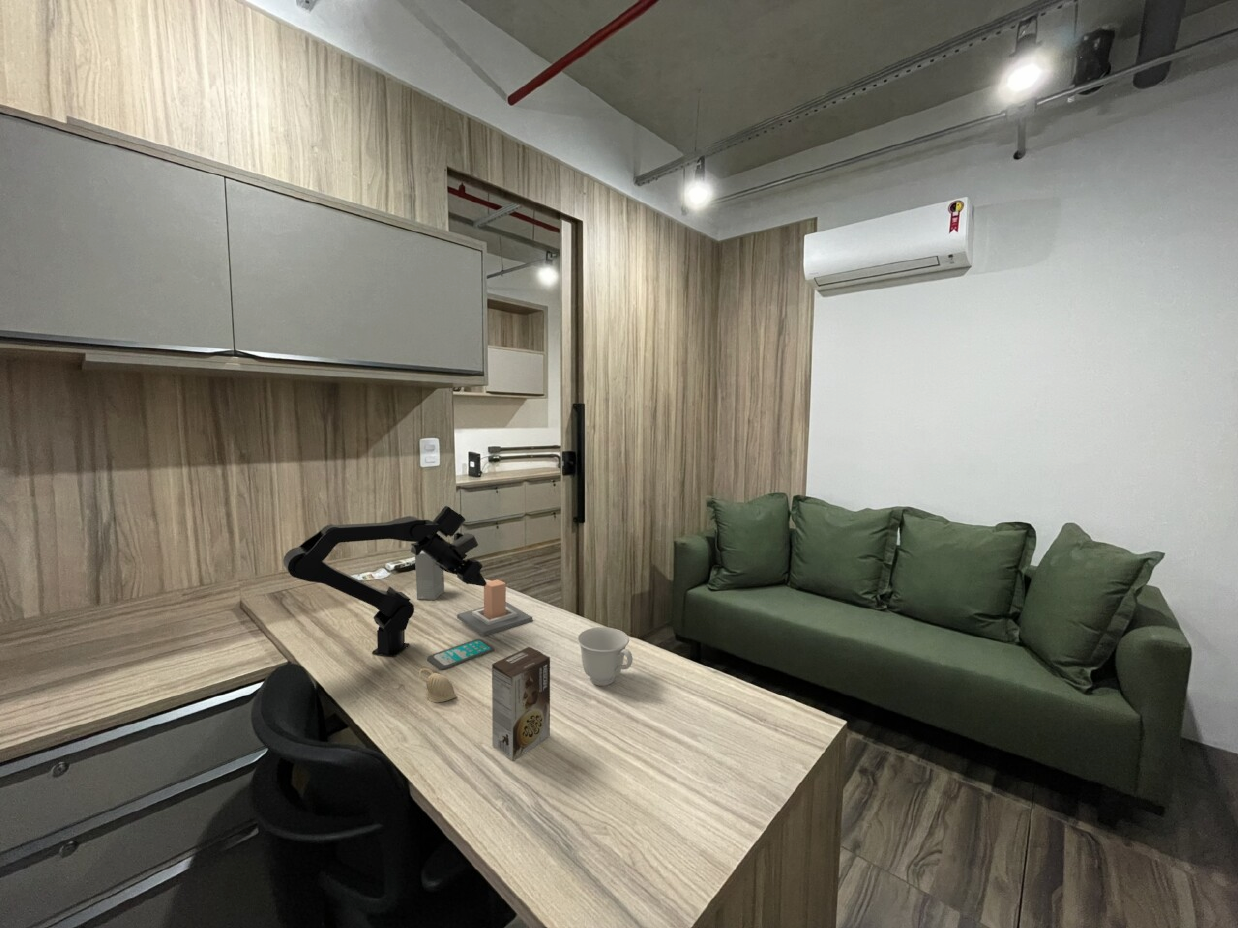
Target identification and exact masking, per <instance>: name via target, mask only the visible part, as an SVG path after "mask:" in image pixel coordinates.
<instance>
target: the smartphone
mask: <svg viewBox="0 0 1238 928" xmlns="http://www.w3.org/2000/svg"><path fill="white" fill-rule="evenodd" d="M494 650H495V647H494V646H492V645H491V644H489V643H488V642H486V641H485V640H483V639H482V638H476V639H472V640H470V641H467V642H464V643H462V644H459V645H456V646H452V647H450V648H449V647H448V648H447V649H444V650H441V651H439V652H435V653H433V654H430V655H429V656H427V657H426V660H427V662H428V663H429V664H431V665H432V666H433V667H435V668H436V669H437V670H439V671H445V670H448V669H451V668H454V667H456V666H459V665H461V664H464V663H467V662H470V661H471V660H474V659H477V658H480V657H484V656H486V655H488V654H490V653H492V652H494Z"/></svg>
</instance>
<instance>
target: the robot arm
mask: <svg viewBox="0 0 1238 928" xmlns="http://www.w3.org/2000/svg"><path fill="white" fill-rule="evenodd" d="M466 521H467V519H466V518H465V517H464V516H463V514H461V513H458V512H457V511H455V509H454V510H453V509H452V508H451V507H449V506H447V505H445V506H444V507H442V509H441V511H440V512H439V513H438V515H437V516H436V517H435V518H434V519H433V520H430V519H419V518H418V517H415V516H411V515H408V516H403V517H399V518H395V519H392V520H390V521H385V522H384V521H383V522H371V523H370V522H369V523H365V522H364V523H354V524H352V523H351V524H350V523H349V524H333V523H332V524H330V523H329V524H326V525H324V526H323V528H321V529H320V530H319V531H318V532H317V533H314V535H312V536H311V537H309V538H308V539H306V540H304V542H302V543H301V544H300V545H299V546H297V547H294V548H291V549H289V550H288V551H287V552H286V553H285V555H284V557H283V561H282V562H283V567H285V569H286V571H287V572H288V573H289V575H290V576H291V577H293V578H295V579H298V580H303V581H306V582H310V583H319V584H323V585H325V586H327V587H330V588H332V589H335V590H337V591H338V592H341V593H344V594H345V595H348V596H350V597H352V598H355V599H357V600H358V601H361V602H363V603H366V604H368V605H370V606H372V607H374V608H376V609H377V610H378V611H377V612H376V613H375V615H373V620H374V622H375V624H377V625H378V629H377V630H376V632H377V633H376V634H377V635H376V638H377V641H376V642H377V643H376V644H377V647H376V648H375V649H374V650H372V654H373V655H378V656H387V657H396V656H397V655H399V654H400V653H402V652H403V651H404V650H405V649H407V648H408V647H409V646H410V642H405V635H406V634H405V632H406V631H405V630H407V627H408V624H409V622H410V619H411V618H412V617H413V615H414V613H415V606H414V604H413V602H411V598H410V597H409V596H407V595H406V594H405V593H404V592H403V591H397V590H396V589H394V588H392V587H391V586H388V588H387V590H380V589H378V588H376V587H375V586H372V585H370V584H368V583H365V582H363V581H362V580H359V579H357V578H355V577H354V576H351V575H349V574H348V573H345V572H343V571H340V570H338V569H336V568H334V567H333V566H331V565H329V564H328V563H327V562H325V559H326V558H327V557H328V556H329V554H330V553H331V552H332V551H333V550H334V548H335V547H336V546H337V545H338V544H340V543H350V542H351V543H352V542H353V543H354V542H355V543H356V542H364V541H365V542H366V541H378V540H380V541H381V540H394V541H401V542H412V543H410V547H411V549H410V552H411V553H412V554H413V555H414V556H415V555H419V553H420V552H421V551H423V552H424V553H426V554H427V555H428V556H430V557H431V559H432V560H434V561H435V565H436V566H437V567H439V568H440V569H442V570H443V572H446V573H449V574H453V575H457V576H456V577H457V579H459V580H460V581H461V582H463V583H464V584H466V585H473V586H480V587H484V586H485V585H486V584H487V583H486V582H487V581H486V580H485V578H484V577H483V574H482V573H481V570H482V568H483V564H482V563H481V562H480V561H478V560H476V559H474V558H468V559H467V560H465V559H466V558H467V557H468V555H467V554H468V552H470V551H472V550H473V549H475V548H477V547H478V546H479V543H478V541H477V539H476V537H475V535H474V534H471V533H469V532H467V533H466V532H464V533H462V532H459V531H458V530H459V529H460V528H461V527H462V525H464V523H465V522H466ZM439 534H440V535H439ZM441 535H442V536H443V537H444V538H448V537H450V538H451V537H453V540H452V543H450V542H449V541H447V540H446V539H444V538H443V537H442V536H441Z"/></svg>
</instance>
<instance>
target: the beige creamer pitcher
mask: <svg viewBox="0 0 1238 928" xmlns="http://www.w3.org/2000/svg"><path fill="white" fill-rule="evenodd" d="M423 672H428V674H430V675H429V676H428V678H426V677H425V676H423V674H422V673H423ZM418 676H419V678H420V679H421V681H424V682H426V685H425V687H426V690H427V691H426V696H427V699H428V700H429V702H433V703H436V704H437V703H442V702H443V703H444V702H445V701H446V702H447V701H449V700H452V699H455V698H458V695H457V694H456V693H455V689H454V686H453V685H452V682H451V681H450V680H449V678H448V677H446V676H444V675H442V674H440V673H436V672H433V671H432V670H431V669H429V668H424V667H423V668H421V669H419V672H418Z"/></svg>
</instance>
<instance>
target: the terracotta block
mask: <svg viewBox="0 0 1238 928" xmlns="http://www.w3.org/2000/svg"><path fill="white" fill-rule="evenodd" d="M486 583H487V584H486V585H485V586H483V607H484V616H486V617H488V618H489V619H494V618H497V617H500V616H504V615H506V602H507V599H506V595H507V594H506V593H507V592H506V591H507V590H506V588H507V587H506V582H504V581H502V580H500V579H493V580H488V581H486Z"/></svg>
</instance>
